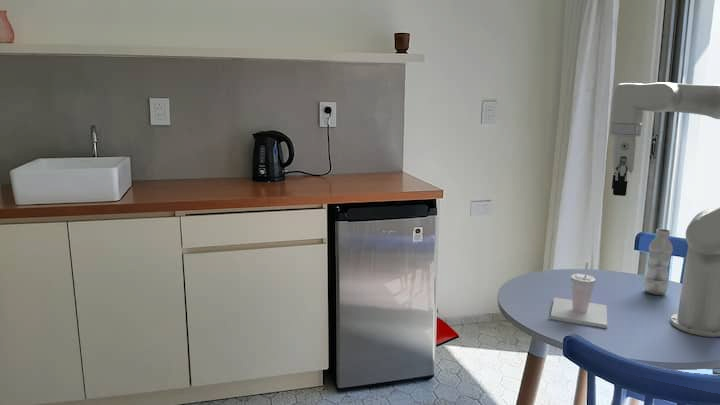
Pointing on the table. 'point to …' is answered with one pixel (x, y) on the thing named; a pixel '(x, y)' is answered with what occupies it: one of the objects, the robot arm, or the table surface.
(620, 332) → the table surface
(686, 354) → the table surface
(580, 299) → the smoothie
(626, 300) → the table surface
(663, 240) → the plastic bottle
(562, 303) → the tile
